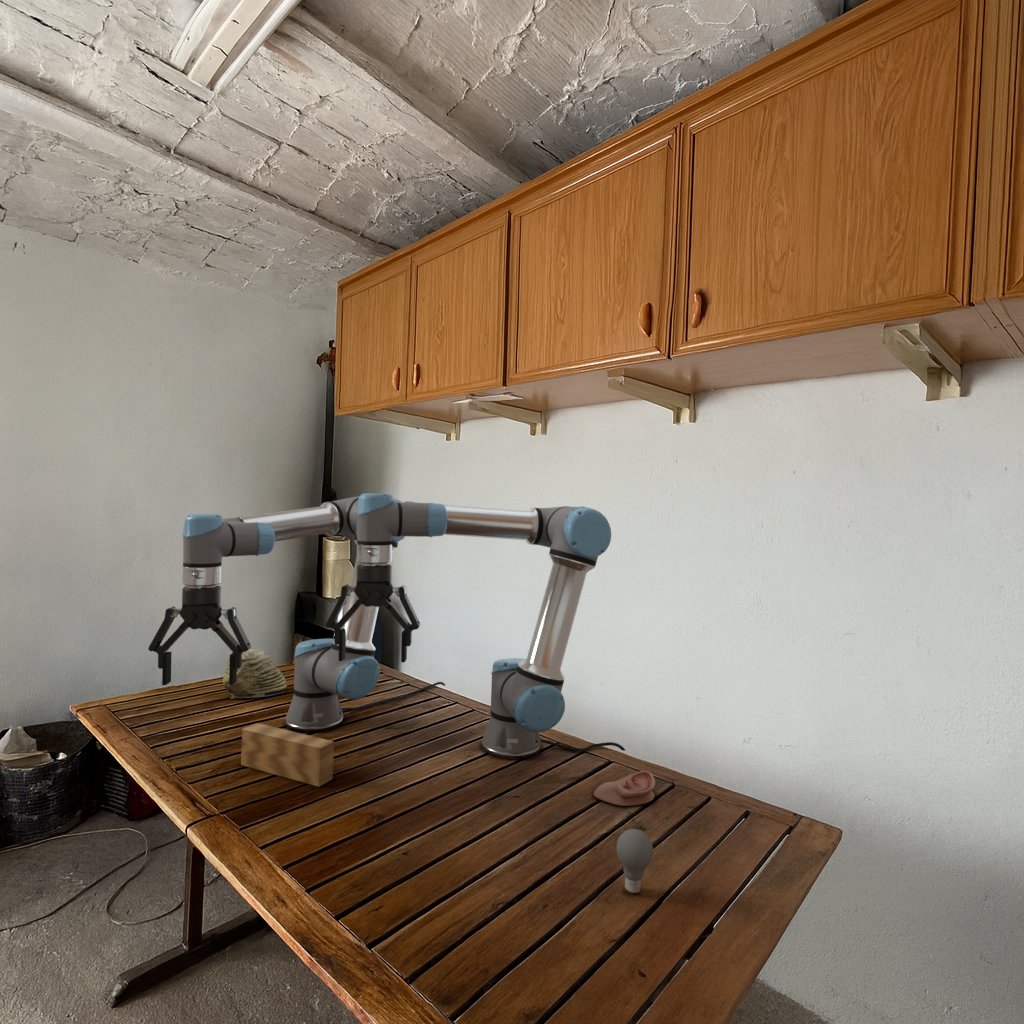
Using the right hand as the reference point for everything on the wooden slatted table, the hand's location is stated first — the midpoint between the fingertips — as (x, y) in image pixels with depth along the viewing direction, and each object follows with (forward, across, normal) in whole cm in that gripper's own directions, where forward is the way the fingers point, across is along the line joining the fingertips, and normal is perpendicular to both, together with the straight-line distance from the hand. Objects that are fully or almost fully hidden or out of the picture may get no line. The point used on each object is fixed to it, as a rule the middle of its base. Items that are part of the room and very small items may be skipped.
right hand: (373, 660), depth 139 cm
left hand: (+5, -37, -2) cm, 37 cm away
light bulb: (+29, +52, -34) cm, 68 cm away
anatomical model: (+29, +56, +1) cm, 63 cm away
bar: (+28, -21, +5) cm, 35 cm away
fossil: (+27, -50, +58) cm, 81 cm away
